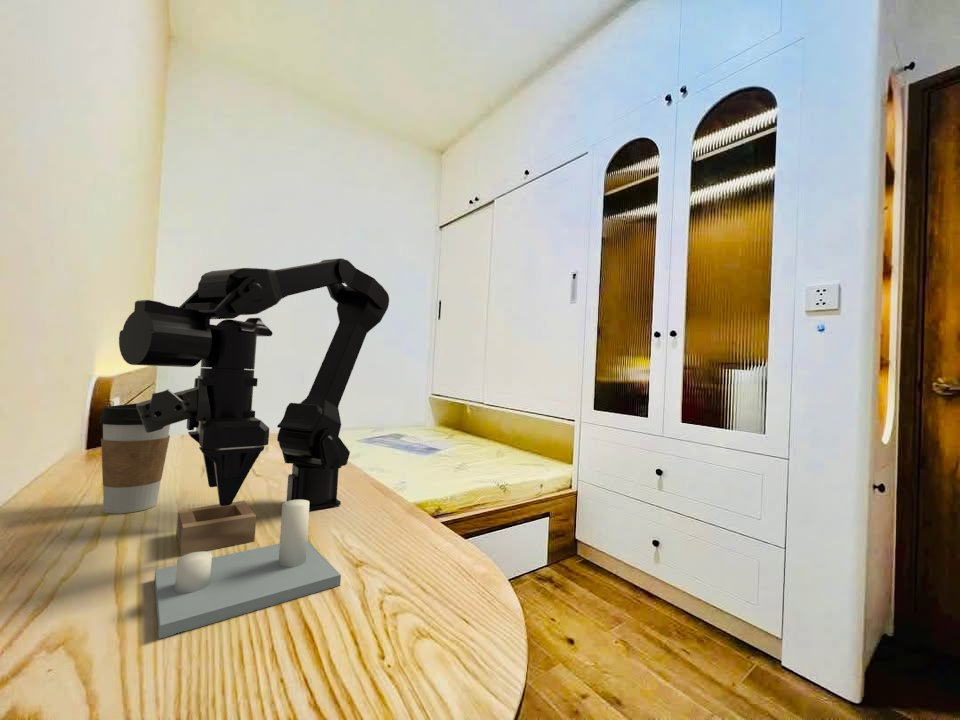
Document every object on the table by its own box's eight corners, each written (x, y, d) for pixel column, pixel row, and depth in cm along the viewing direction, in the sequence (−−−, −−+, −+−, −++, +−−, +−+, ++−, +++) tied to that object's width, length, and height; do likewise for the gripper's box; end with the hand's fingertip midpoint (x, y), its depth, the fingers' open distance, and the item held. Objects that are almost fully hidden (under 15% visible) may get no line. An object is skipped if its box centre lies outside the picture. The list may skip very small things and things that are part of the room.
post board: (304, 546, 48) (308, 487, 48) (340, 585, 40) (344, 512, 40) (154, 580, 39) (160, 506, 39) (159, 639, 31) (166, 545, 31)
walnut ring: (242, 523, 55) (244, 500, 55) (254, 541, 49) (256, 516, 49) (176, 534, 50) (178, 510, 50) (181, 555, 44) (183, 527, 45)
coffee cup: (180, 503, 61) (188, 404, 62) (115, 520, 53) (125, 406, 54) (143, 495, 64) (151, 401, 65) (76, 511, 56) (86, 403, 57)
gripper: (143, 365, 52) (133, 486, 52) (146, 366, 38) (132, 533, 38) (241, 369, 60) (234, 476, 59) (274, 371, 45) (265, 512, 45)
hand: (219, 495), depth 50 cm, fingers open, 9 cm apart
